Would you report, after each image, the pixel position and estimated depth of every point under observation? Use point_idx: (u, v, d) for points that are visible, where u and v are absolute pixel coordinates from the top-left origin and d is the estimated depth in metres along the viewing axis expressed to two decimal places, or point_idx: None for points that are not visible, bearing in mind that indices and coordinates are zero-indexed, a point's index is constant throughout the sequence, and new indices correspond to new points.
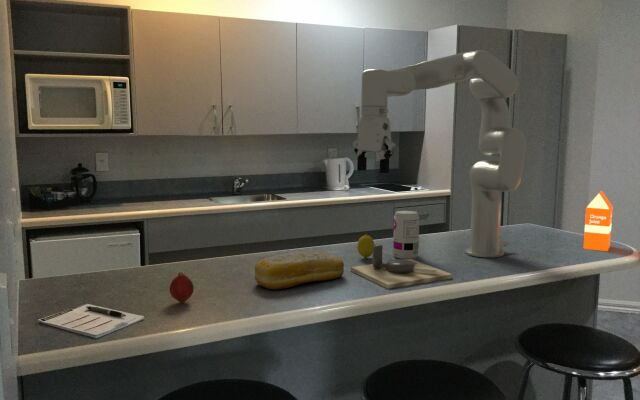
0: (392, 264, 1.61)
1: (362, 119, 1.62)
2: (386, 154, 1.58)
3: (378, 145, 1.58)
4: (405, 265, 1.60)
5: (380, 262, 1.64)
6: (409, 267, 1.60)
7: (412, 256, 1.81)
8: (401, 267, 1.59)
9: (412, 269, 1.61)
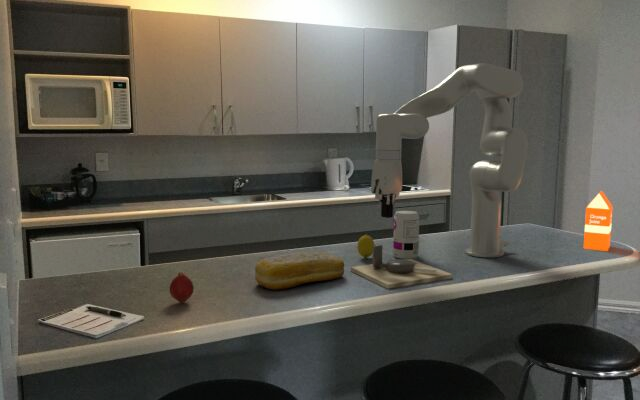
0: (392, 264, 1.61)
1: (389, 163, 1.61)
2: None
3: (401, 186, 1.68)
4: (405, 265, 1.60)
5: (380, 262, 1.64)
6: (409, 267, 1.60)
7: (412, 256, 1.81)
8: (401, 267, 1.59)
9: (412, 269, 1.61)
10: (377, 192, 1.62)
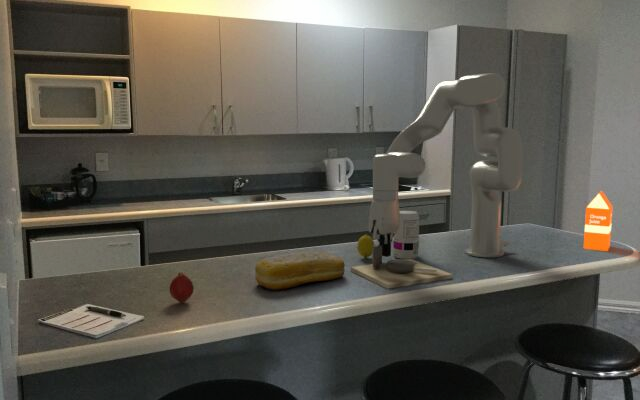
0: (392, 264, 1.61)
1: (386, 203, 1.62)
2: None
3: (399, 224, 1.68)
4: (405, 265, 1.60)
5: (380, 262, 1.64)
6: (409, 267, 1.60)
7: (412, 256, 1.81)
8: (402, 267, 1.59)
9: (412, 269, 1.61)
10: (375, 232, 1.63)
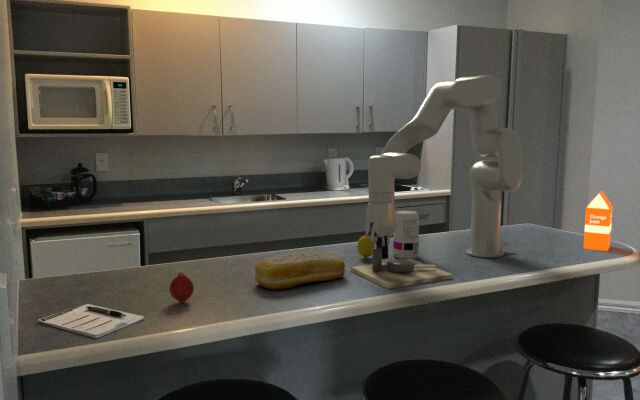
0: (396, 265, 1.60)
1: (383, 205, 1.60)
2: None
3: (395, 226, 1.66)
4: (409, 264, 1.61)
5: (381, 265, 1.61)
6: (413, 266, 1.61)
7: (412, 256, 1.81)
8: (408, 267, 1.59)
9: (414, 267, 1.62)
10: (372, 235, 1.60)
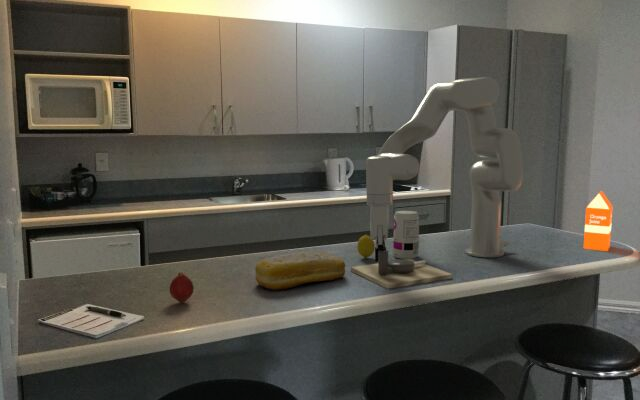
0: (402, 265, 1.60)
1: (387, 207, 1.57)
2: None
3: None
4: (410, 263, 1.62)
5: (387, 267, 1.59)
6: None
7: (412, 256, 1.81)
8: (412, 265, 1.61)
9: None
10: (380, 238, 1.56)
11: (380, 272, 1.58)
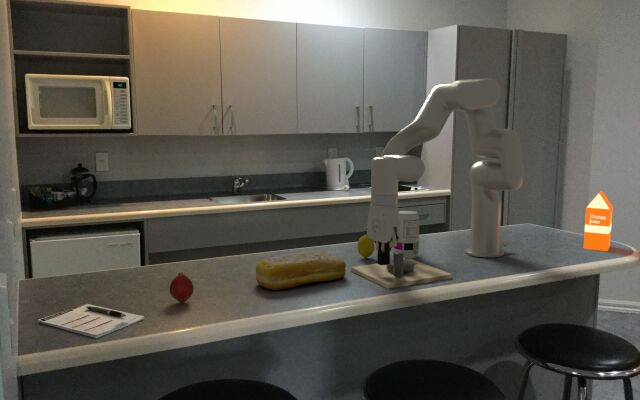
0: (408, 264, 1.61)
1: None
2: None
3: None
4: (408, 261, 1.64)
5: None
6: None
7: (412, 256, 1.81)
8: None
9: None
10: (394, 240, 1.53)
11: (399, 275, 1.55)
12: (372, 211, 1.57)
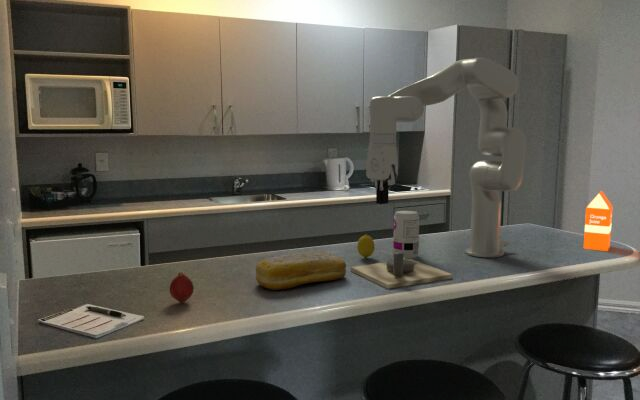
0: (408, 264, 1.61)
1: None
2: None
3: None
4: (408, 261, 1.64)
5: None
6: None
7: (412, 256, 1.81)
8: None
9: None
10: (393, 178, 1.57)
11: (399, 275, 1.55)
12: (371, 150, 1.60)
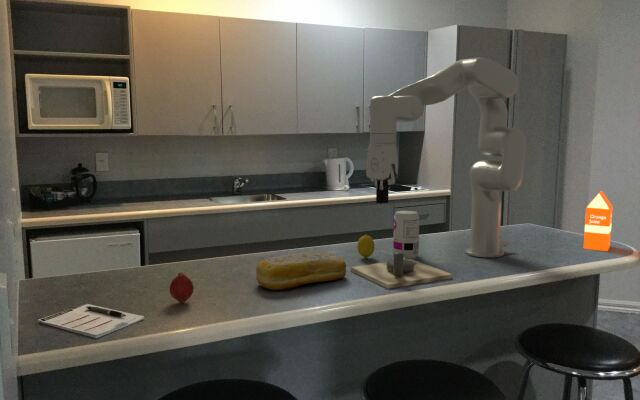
0: (408, 264, 1.61)
1: None
2: None
3: None
4: (408, 261, 1.64)
5: None
6: None
7: (412, 256, 1.81)
8: None
9: None
10: (393, 177, 1.57)
11: (399, 275, 1.55)
12: (371, 150, 1.60)
